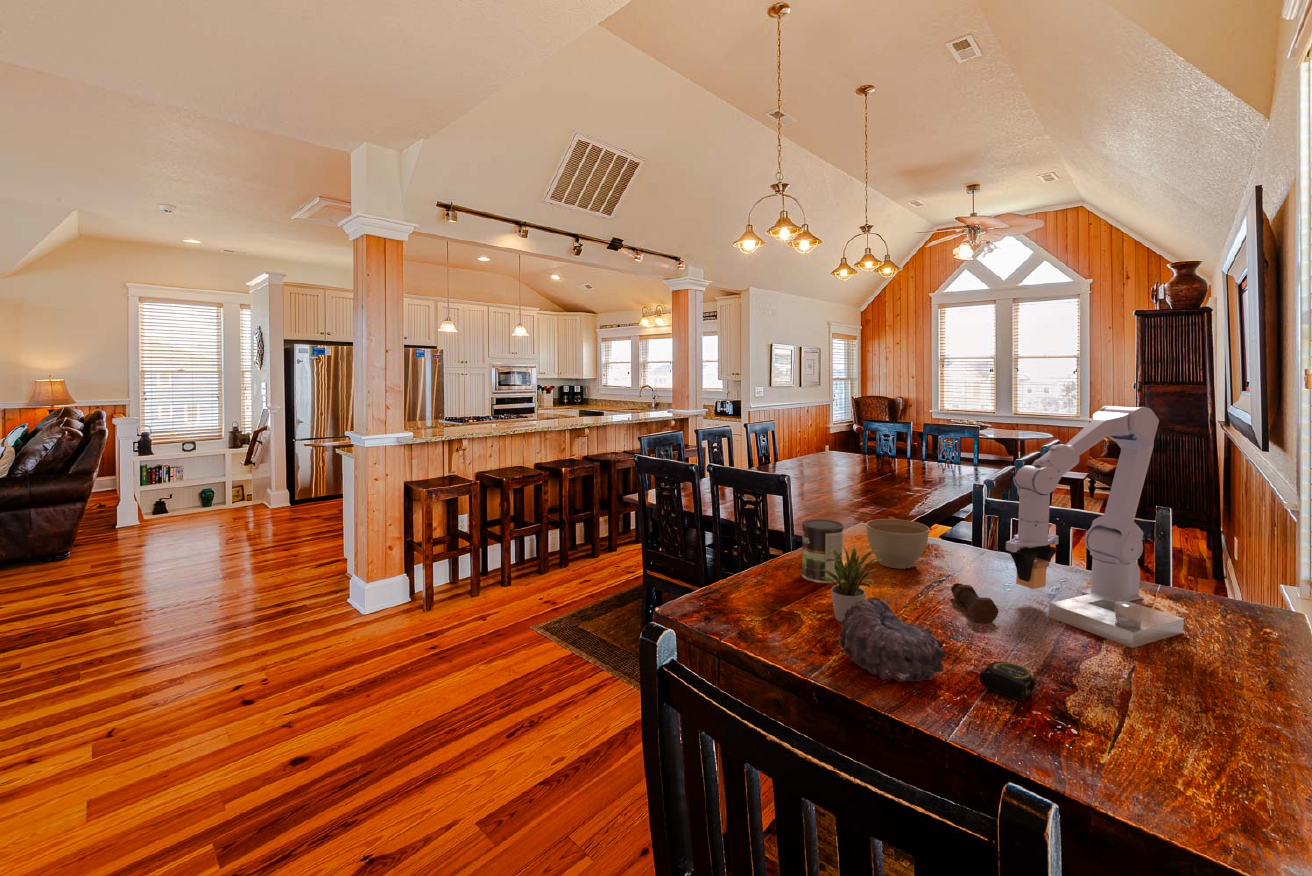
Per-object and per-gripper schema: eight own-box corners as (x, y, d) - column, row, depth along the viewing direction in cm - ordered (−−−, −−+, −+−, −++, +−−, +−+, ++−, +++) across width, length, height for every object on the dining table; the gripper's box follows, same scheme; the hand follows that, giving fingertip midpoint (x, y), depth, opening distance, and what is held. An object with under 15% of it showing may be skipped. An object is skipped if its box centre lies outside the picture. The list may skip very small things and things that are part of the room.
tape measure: (976, 689, 97) (977, 667, 97) (997, 677, 101) (998, 656, 101) (1020, 707, 92) (1021, 685, 91) (1041, 694, 96) (1042, 672, 95)
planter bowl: (871, 572, 156) (872, 532, 155) (860, 554, 172) (861, 518, 171) (936, 574, 153) (937, 534, 152) (919, 556, 169) (920, 519, 168)
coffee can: (804, 583, 149) (804, 528, 147) (799, 570, 159) (800, 518, 157) (846, 584, 147) (847, 529, 146) (839, 571, 157) (839, 519, 156)
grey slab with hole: (1096, 605, 131) (1098, 574, 131) (1182, 632, 117) (1185, 598, 116) (1048, 616, 125) (1049, 585, 125) (1132, 648, 111) (1135, 612, 110)
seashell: (853, 644, 118) (807, 621, 111) (891, 594, 117) (848, 568, 109) (925, 717, 101) (877, 696, 94) (971, 660, 100) (925, 634, 93)
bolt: (960, 604, 138) (988, 629, 123) (941, 593, 138) (966, 617, 123) (974, 584, 137) (1003, 606, 122) (954, 573, 137) (981, 593, 123)
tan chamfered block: (1025, 580, 136) (1026, 554, 135) (1048, 587, 131) (1049, 561, 131) (1013, 582, 135) (1014, 557, 134) (1035, 590, 130) (1037, 563, 129)
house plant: (900, 618, 126) (902, 543, 124) (873, 639, 116) (875, 558, 114) (837, 601, 136) (838, 532, 134) (808, 620, 126) (808, 545, 124)
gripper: (1038, 512, 138) (1035, 568, 139) (994, 519, 132) (992, 577, 134) (1069, 518, 131) (1066, 577, 133) (1024, 526, 126) (1021, 587, 127)
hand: (1031, 578), depth 133 cm, fingers closed on tan chamfered block, 4 cm apart
